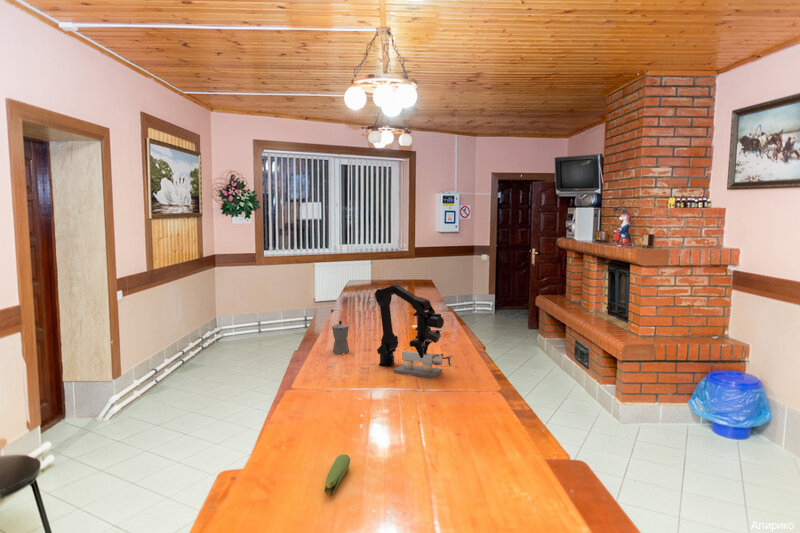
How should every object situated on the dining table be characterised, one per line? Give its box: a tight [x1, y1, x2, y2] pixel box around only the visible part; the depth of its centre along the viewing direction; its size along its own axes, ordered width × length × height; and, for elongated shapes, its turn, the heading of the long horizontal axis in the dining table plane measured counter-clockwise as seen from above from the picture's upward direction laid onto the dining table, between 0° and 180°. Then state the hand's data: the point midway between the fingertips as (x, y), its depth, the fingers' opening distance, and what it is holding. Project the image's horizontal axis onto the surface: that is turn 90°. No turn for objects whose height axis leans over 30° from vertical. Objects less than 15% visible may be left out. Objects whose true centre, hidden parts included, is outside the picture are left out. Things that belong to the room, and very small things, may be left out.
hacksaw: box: [440, 353, 458, 368], centre depth 270 cm, size 24×10×2 cm, turn 174°
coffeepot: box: [331, 320, 350, 355], centre depth 290 cm, size 15×9×18 cm, turn 8°
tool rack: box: [393, 360, 443, 379], centre depth 252 cm, size 21×11×6 cm, turn 64°
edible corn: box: [324, 454, 351, 497], centre depth 151 cm, size 5×20×5 cm
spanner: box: [401, 349, 443, 366], centre depth 251 cm, size 20×5×4 cm, turn 64°
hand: (423, 357), depth 251 cm, fingers open, 3 cm apart
